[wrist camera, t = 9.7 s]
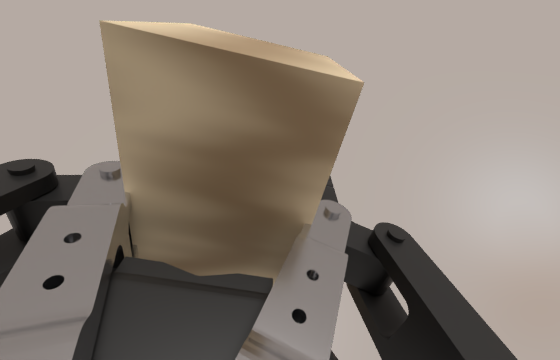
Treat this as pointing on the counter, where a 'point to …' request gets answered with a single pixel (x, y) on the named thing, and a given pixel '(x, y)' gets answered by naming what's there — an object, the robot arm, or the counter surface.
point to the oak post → (222, 142)
